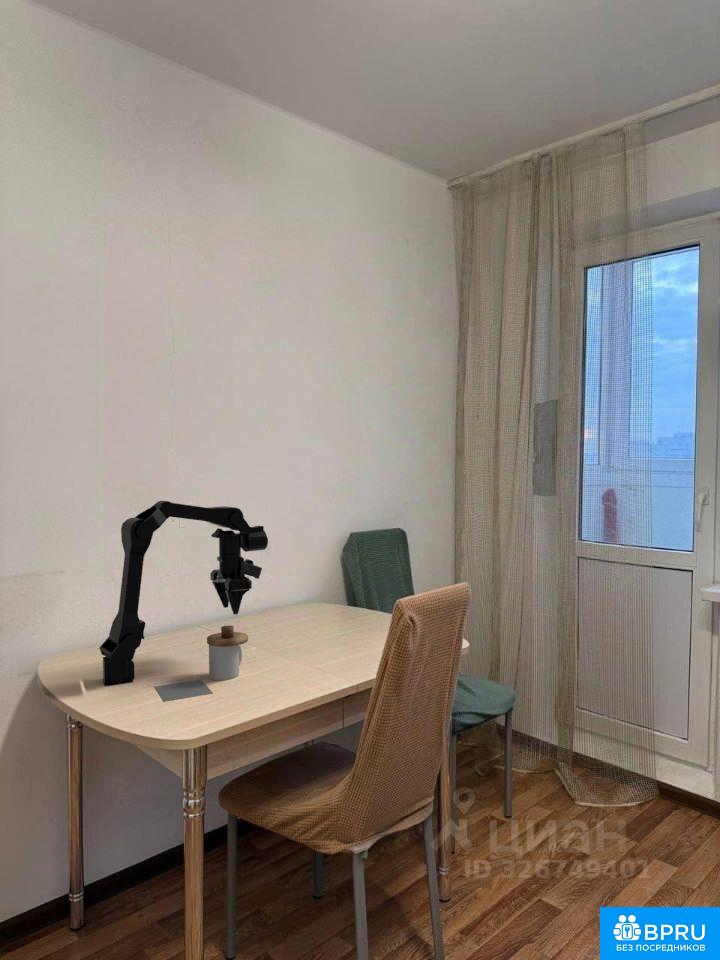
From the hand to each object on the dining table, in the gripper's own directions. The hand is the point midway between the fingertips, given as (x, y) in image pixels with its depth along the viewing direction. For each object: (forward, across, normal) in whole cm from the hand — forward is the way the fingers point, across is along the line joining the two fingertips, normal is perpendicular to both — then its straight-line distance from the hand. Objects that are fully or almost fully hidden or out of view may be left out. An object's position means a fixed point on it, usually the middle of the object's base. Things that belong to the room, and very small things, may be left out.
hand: (230, 610), depth 181 cm
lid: (+4, -14, +5) cm, 16 cm away
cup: (+13, -14, +5) cm, 20 cm away
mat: (+13, -20, +18) cm, 30 cm away
